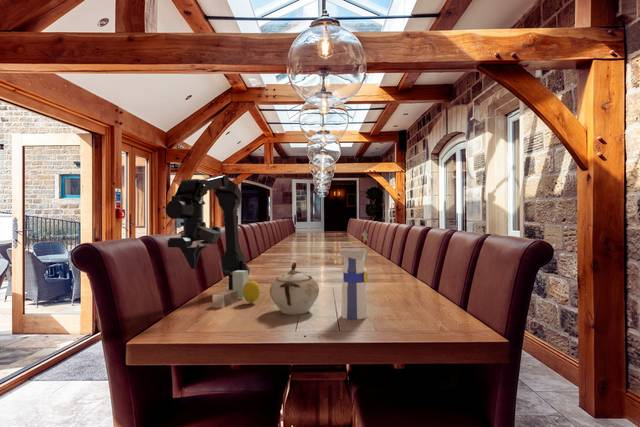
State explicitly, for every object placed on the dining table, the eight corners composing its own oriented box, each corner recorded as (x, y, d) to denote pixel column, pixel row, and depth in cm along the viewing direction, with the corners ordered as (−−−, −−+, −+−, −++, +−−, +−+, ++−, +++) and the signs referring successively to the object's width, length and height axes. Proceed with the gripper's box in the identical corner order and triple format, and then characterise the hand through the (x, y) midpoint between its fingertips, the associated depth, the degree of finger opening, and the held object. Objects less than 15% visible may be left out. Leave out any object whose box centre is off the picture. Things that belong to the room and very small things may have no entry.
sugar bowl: (313, 320, 122) (312, 266, 122) (261, 319, 125) (260, 266, 125) (323, 305, 142) (323, 258, 142) (279, 304, 144) (278, 258, 144)
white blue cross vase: (371, 313, 130) (370, 228, 129) (366, 320, 121) (365, 230, 121) (344, 311, 132) (343, 228, 132) (337, 318, 124) (336, 230, 123)
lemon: (261, 302, 148) (261, 278, 148) (257, 305, 142) (257, 281, 142) (245, 301, 148) (245, 278, 148) (241, 305, 143) (240, 280, 143)
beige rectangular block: (212, 307, 141) (227, 301, 150) (223, 307, 140) (237, 301, 149) (212, 294, 141) (227, 289, 150) (223, 295, 140) (237, 290, 149)
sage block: (238, 296, 158) (237, 270, 158) (248, 297, 157) (248, 270, 156) (232, 298, 154) (232, 271, 154) (243, 299, 153) (242, 272, 153)
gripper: (199, 219, 126) (199, 273, 126) (230, 218, 144) (230, 266, 144) (165, 219, 129) (166, 272, 129) (200, 218, 147) (200, 265, 147)
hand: (193, 268), depth 137 cm, fingers closed
